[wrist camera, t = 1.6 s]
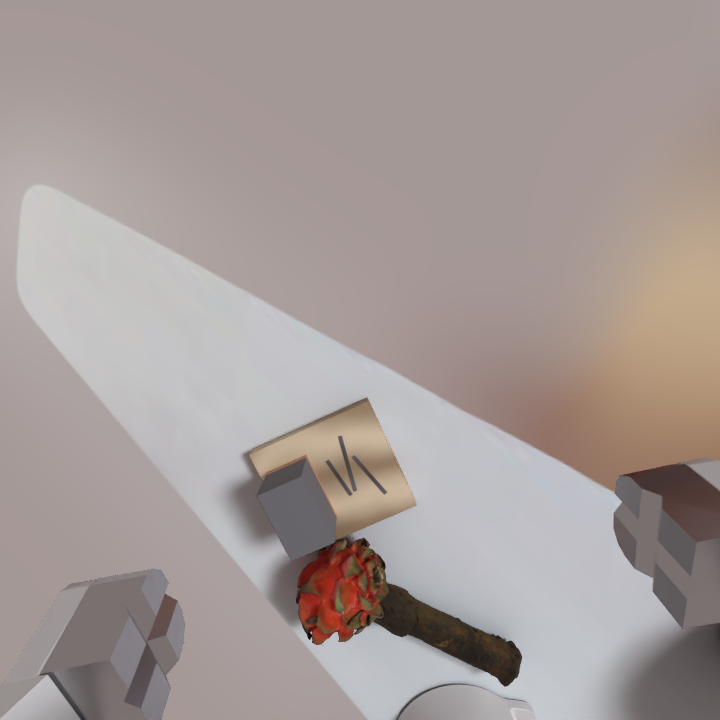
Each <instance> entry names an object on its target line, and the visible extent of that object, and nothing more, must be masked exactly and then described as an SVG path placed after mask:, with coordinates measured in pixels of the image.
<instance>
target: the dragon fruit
mask: <svg viewBox="0 0 720 720" xmlns="http://www.w3.org/2000/svg"><path fill="white" fill-rule="evenodd" d="M347 544H348V541H347V540H346V539H342V540H337V541H336V543H335V544H334V545H333V547H332V548H331V549H330V550H328V551H326V550H324V549H326V548H323V549H320V550H319V558H318V559H317V560H315V561H314V562H312V563H310V564H308V565H307V566H306V567H305V568H304V569H303V571H302V572H301V574H300V576H299V579H298V586H297V587H298V591H297V597H296V603H297V604H298V603H299V611H298V614H299V618H300V620H301V623H302V626H303V628H304V630H305V632H306V634H307V636H308V639H309V640H310V639H311V637H312V643H314V644H316V645H319V644H322V643H323V642H324V641H325V640H326V639H328V638H329V637H330V636H331V635H332V634H333V633H334V632H338V635H339V641H338V642H346V641H348V640H349V639H350V638H351V637H352V636H353V635H354V634H355V635H356V634H358V633H360V632H362V631H363V629H364V628H365V627H366V626H369V625H370V624H371V623H372V622H373V621H374V620H375V619H376V618H383V615H384V613H383V610H382V607H381V606H380V605H379V602H380V601H381V600H382V599H384V598H385V597H386V596H387V594H388V593H389V588H388V584H387V582H386V574H385V571H384V570H385V567H386V566H385V563H384V561H383V560H382V558H381V557H380V556H379V555H378V554H376V553H375V552H374V551H373V550H372V549H370V548H368V547H369V545H370V544H369V543H368V541H367V540H366V539H365V538H362V539H359V540H356V541H355V542H353V544H352V545H351V547H350V548H347V547H346V545H347ZM365 547H367V548H365ZM371 554H372V555H371ZM354 629H357V631H356V632H355V633H354V634H353V632H354ZM311 631H312V634H310V632H311Z"/></svg>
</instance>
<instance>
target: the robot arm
mask: <svg viewBox="0 0 720 720" xmlns="http://www.w3.org/2000/svg"><path fill="white" fill-rule="evenodd" d="M615 494H616V495H617V496H618V498H619V499H620V500H621V501H622V503H621V505H620V506H619V507H618V508H617V510H616V511H615V512H614V531H615V535H616V538H617V541H618V544H619V546H620V548H621V550H622V551H623V553H624V555H625V557H626V558H627V559H628V561H629V562H630V563H631V564H632V566H633V567H634V568H635V569H636V570H638V571H640V572H642V573H644V574H646V575H648V576H650V577H652V578H653V592H654V594H655V595H656V596H657V597H658V599H659V600H660V601H661V602H662V604H663V605H664V606H665V607H666V609H667V610H668V611H669V612H670V614H671V615H672V616H673V617H674V619H675V620H676V621H677V622H678V624H679V625H680V626H681V627H682V629H685V628H691V627H697V626H703V625H709V624H715V623H720V462H719V461H718V460H716V459H713V458H710V457H703V458H698V459H693V460H689V461H684V462H679V463H677V464H671V465H666V466H661V467H656V468H652V469H647V470H642V471H637V472H633V473H628V474H623V475H620V476H619V478H618V479H617V481H616V486H615ZM167 586H168V581H167V579H166V577H165V576H164V574H163V572H162V570H159V569H150V570H144V571H138V572H132V573H127V574H121V575H115V576H110V577H104V578H99V579H97V580H90V581H85V582H79V583H73V584H70V585H68V586H67V587H66V588H64V589H63V590H62V591H61V592H60V593H59V595H58V597H57V598H56V600H55V601H54V603H53V605H52V606H51V608H50V609H49V611H48V613H47V614H46V616H45V617H44V619H43V620H42V622H41V623H40V625H39V627H38V628H37V630H36V631H35V633H34V635H33V636H32V638H31V639H30V641H29V642H28V644H27V646H26V647H25V649H24V650H23V652H22V653H21V655H20V657H19V658H18V660H17V661H16V663H15V665H14V666H13V668H12V669H11V671H10V672H9V674H8V676H7V677H6V679H5V680H4V682H3V683H1V684H0V720H161V719H162V716H163V713H164V709H165V706H166V703H167V699H168V696H169V693H170V689H171V687H170V685H169V682H168V680H167V677H166V675H167V674H168V672H169V671H170V670H171V668H173V666H174V665H175V664H176V663H177V662H178V660H179V658H180V655H181V651H182V647H183V644H184V629H185V622H184V617H183V612H182V609H181V607H180V605H179V603H178V601H177V600H176V599H173V598H172V597H170V596H168V595H167V594H165V592H166V589H167ZM398 720H535V718H534V714H533V711H532V708H531V706H530V705H529V704H528V703H526V702H523V701H518V700H510V699H504V698H501V697H499V696H497V695H495V694H494V693H492V692H490V691H488V690H485V689H483V688H479V687H476V686H470V685H448V686H443V687H439V688H436V689H433V690H430V691H428V692H426V693H424V694H422V695H421V696H419V697H418V698H416V699H415V700H414V701H412V702H411V703H410V704H409V705H408V706H407V707H406V708H405V710H404V711H403V712H402V714H401V715H400V717H399V719H398Z"/></svg>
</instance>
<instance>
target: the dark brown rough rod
mask: <svg viewBox="0 0 720 720" xmlns="http://www.w3.org/2000/svg"><path fill="white" fill-rule="evenodd" d="M388 588H389V593H388V594H387V596H386V597H385V598H384V599H382V600H381V601H380V602H379V605H380V606H381V607H382V610H383V613H384V615H383V618H376V619H375V620H374V622H375V623H377V624H379V625H381V626H382V627H384V628H385V629H387V630H388V631H390V632H391V633H393V634H395V635H397V636H400V637H403V636H406V635H411V636H414V637H416V638H418V639H421V640H423V641H424V642H426V643H427V644H429V645H431V646H433V647H435V648H438V649H440V650H442V651H443V652H446V653H448V654H450V655H452V656H454V657H456V658H458V659H460V660H462V661H464V662H466V663H468V664H470V665H472V666H474V667H477V668H479V669H482V670H483V671H485V672H488V673H489V674H491V675H493V676H495V677H496V678H498V680H499V681H500V683H501V684H502V685H504V686H508V685H509V684H510V683H511V682H513V680H514V679H515V678H517V677H518V674H519V669H520V664H521V660H522V655H521V653H520V651H519V649H518V648H516V646H515V644H514V643H513V642H512V641H508V642H505V641H504V640H503V639H502V638H501V637H500V636H496V637H493V636H491V635H489V634H487V633H485V632H484V631H482V630H479V629H476V628H474V627H471V626H470V625H468V624H466V623H464V622H462V621H461V620H460V619H459V618H454V617H452V616H450V615H448V614H446V613H444V612H441V611H439V610H437V609H435V608H433V607H431V606H429V605H427V604H425V603H423V602H421V601H419V600H416V599H415V598H414V597H412V596H411V595H410V594H409V593H408V591H407V590H405V589H403V588H401V587H398V586H395V585H392V584H388Z"/></svg>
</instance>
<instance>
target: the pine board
mask: <svg viewBox="0 0 720 720" xmlns="http://www.w3.org/2000/svg"><path fill="white" fill-rule="evenodd" d="M305 455H307V456H308V458H309V460H310V462H311V464H312V466H313V468H314V470H315V472H316V474H317V476H318V478H319V480H320V482H321V484H322V486H323V488H324V490H325V492H326V494H327V496H328V498H329V500H330V502H331V504H332V506H333V508H334V510H335V512H336V514H337V520H336V533H335V540H337V539H340V538H342V537H344V536H347V535H349V534H351V533H353V532H356V531H358V530H360V529H363V528H365V527H367V526H370V525H372V524H374V523H377V522H379V521H381V520H384V519H386V518H388V517H391V516H393V515H395V514H397V513H400V512H402V511H404V510H407V509H409V508H411V507H414V506H416V501H415V498H414V496H413V494H412V492H411V489H410V487H409V485H408V483H407V481H406V479H405V477H404V474H403V472H402V470H401V468H400V466H399V464H398V462H397V460H396V457H395V455H394V453H393V451H392V449H391V447H390V445H389V443H388V440H387V438H386V436H385V434H384V432H383V430H382V428H381V425H380V423H379V421H378V419H377V417H376V415H375V413H374V411H373V408H372V406H371V404H370V402H369V400H368V398H365V399H363V400H361V401H359V402H356V403H354V404H352V405H350V406H347V407H345V408H343V409H341V410H339V411H336V412H334V413H332V414H330V415H327V416H325V417H323V418H321V419H319V420H316V421H314V422H312V423H310V424H307V425H305V426H303V427H301V428H299V429H296V430H294V431H292V432H290V433H287V434H285V435H283V436H281V437H279V438H276V439H274V440H272V441H270V442H267V443H265V444H263V445H261V446H259V447H256V448H254V449H252V450H251V452H250V454H249V456H250V458H251V460H252V462H253V464H254V466H255V467H256V469H257V471H258V473H259V475H260V477H261V479H262V481H264V479H265V477H266V473H267V472H269V471H271V470H273V469H275V468H278V467H280V466H282V465H284V464H287V463H289V462H291V461H293V460H296V459H298V458H300V457H302V456H305Z"/></svg>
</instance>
